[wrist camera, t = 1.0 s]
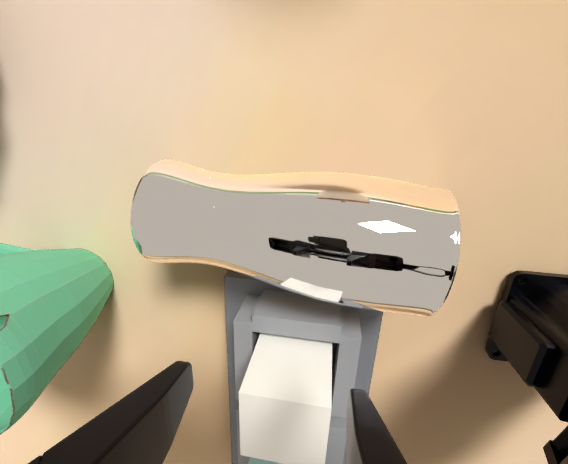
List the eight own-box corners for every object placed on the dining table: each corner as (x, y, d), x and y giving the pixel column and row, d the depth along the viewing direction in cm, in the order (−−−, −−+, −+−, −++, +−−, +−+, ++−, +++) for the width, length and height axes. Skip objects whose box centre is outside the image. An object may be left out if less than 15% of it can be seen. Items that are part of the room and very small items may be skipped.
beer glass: (200, 172, 21) (417, 201, 19) (181, 268, 20) (403, 310, 18) (140, 127, 14) (473, 164, 12) (108, 270, 13) (453, 338, 11)
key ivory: (332, 336, 18) (331, 408, 13) (326, 390, 20) (324, 472, 15) (262, 327, 19) (238, 392, 14) (262, 380, 20) (240, 455, 16)
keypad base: (383, 286, 20) (395, 323, 16) (346, 504, 28) (348, 563, 24) (229, 270, 21) (206, 300, 17) (236, 481, 29) (222, 532, 26)
